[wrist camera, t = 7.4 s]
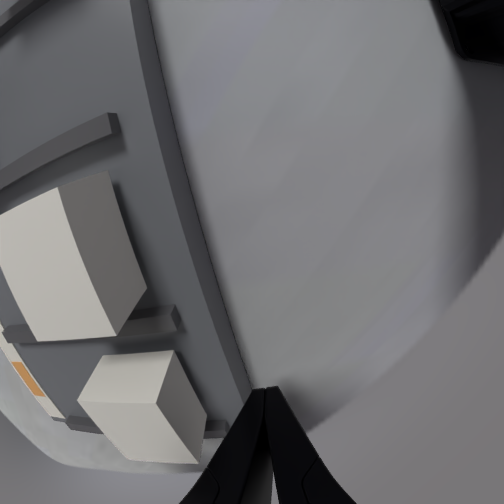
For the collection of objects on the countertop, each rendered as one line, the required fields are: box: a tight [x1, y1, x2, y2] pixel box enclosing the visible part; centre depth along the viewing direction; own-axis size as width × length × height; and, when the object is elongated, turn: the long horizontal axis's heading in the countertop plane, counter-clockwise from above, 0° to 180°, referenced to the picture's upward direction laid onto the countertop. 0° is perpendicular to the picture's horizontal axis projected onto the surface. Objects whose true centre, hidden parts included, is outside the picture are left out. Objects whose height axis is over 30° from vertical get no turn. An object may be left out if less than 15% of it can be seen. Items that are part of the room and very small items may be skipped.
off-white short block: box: [77, 350, 207, 464], centre depth 9 cm, size 3×4×2 cm
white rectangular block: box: [0, 170, 147, 341], centre depth 7 cm, size 3×4×2 cm
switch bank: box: [0, 0, 252, 439], centre depth 8 cm, size 12×25×3 cm, turn 13°
